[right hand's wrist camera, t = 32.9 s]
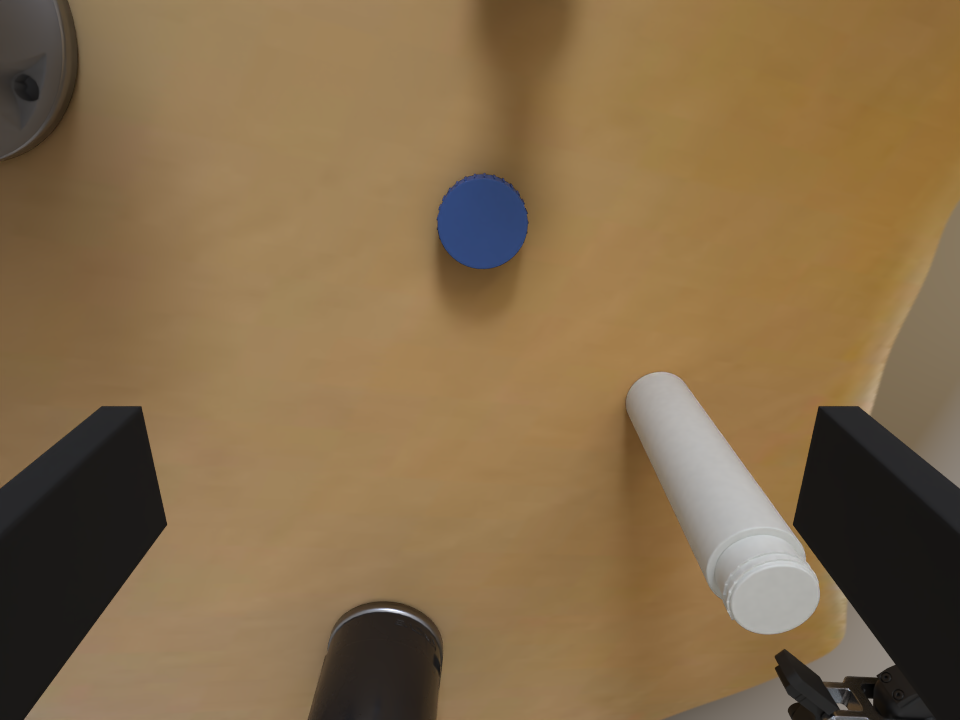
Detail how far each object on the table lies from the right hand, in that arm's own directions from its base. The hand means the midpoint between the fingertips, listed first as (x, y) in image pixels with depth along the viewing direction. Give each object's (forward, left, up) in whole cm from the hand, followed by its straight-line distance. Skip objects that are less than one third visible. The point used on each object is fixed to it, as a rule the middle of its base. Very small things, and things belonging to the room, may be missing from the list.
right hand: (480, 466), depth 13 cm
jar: (+9, -16, -30) cm, 35 cm away
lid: (0, 0, -28) cm, 28 cm away
